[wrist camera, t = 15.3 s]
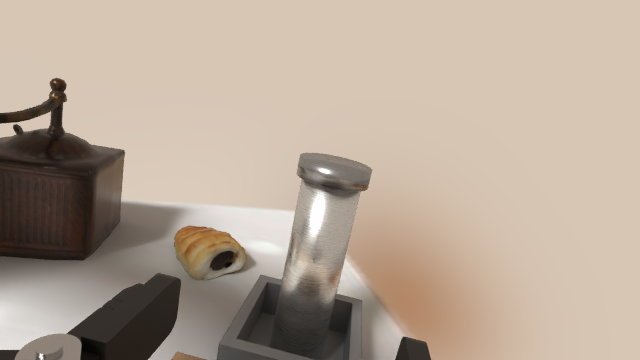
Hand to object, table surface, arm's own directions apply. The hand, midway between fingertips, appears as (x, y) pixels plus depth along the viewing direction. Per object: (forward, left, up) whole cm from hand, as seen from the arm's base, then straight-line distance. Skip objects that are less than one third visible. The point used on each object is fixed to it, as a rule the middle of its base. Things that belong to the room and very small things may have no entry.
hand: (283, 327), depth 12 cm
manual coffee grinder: (-28, +19, -12) cm, 36 cm away
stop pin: (0, +12, -11) cm, 16 cm away
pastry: (-12, +24, -12) cm, 29 cm away
